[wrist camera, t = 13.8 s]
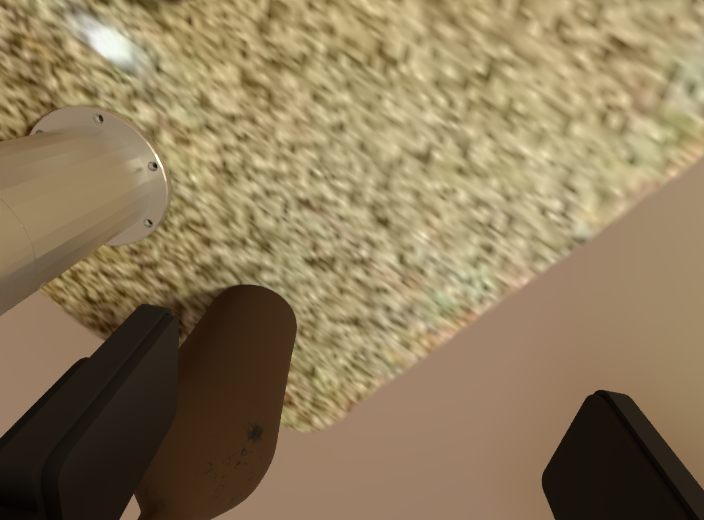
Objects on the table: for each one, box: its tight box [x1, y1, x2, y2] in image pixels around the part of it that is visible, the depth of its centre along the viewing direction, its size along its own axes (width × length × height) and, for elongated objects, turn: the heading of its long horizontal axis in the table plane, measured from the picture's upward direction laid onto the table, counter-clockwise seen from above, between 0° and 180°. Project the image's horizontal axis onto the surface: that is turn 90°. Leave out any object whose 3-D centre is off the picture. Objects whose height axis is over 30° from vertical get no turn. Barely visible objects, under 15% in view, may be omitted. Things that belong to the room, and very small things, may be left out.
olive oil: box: [134, 285, 297, 520], centre depth 33 cm, size 11×11×25 cm
